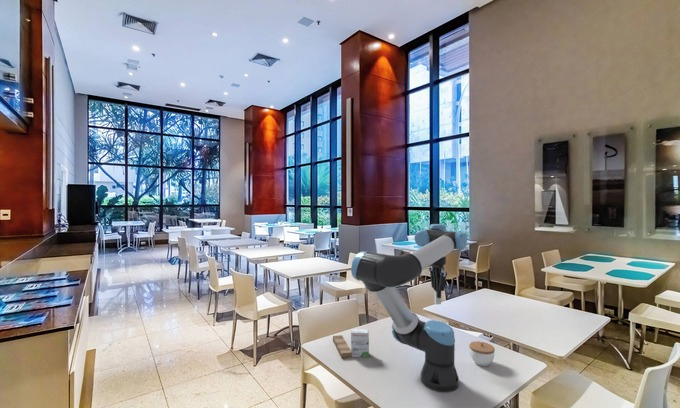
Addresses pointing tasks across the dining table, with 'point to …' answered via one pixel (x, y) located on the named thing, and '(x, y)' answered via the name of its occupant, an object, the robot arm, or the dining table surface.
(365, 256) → the robot arm
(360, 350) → the ink box
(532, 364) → the dining table surface
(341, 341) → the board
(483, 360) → the lidded jar
